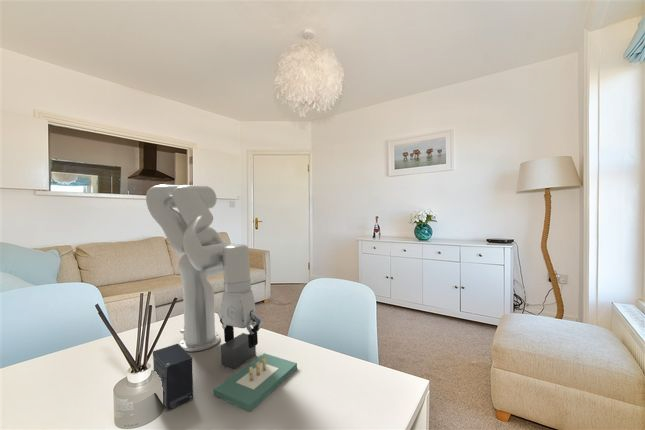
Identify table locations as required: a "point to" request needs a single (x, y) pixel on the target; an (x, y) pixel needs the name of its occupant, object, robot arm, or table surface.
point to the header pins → (257, 368)
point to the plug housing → (236, 352)
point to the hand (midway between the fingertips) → (241, 343)
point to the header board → (255, 382)
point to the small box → (174, 375)
